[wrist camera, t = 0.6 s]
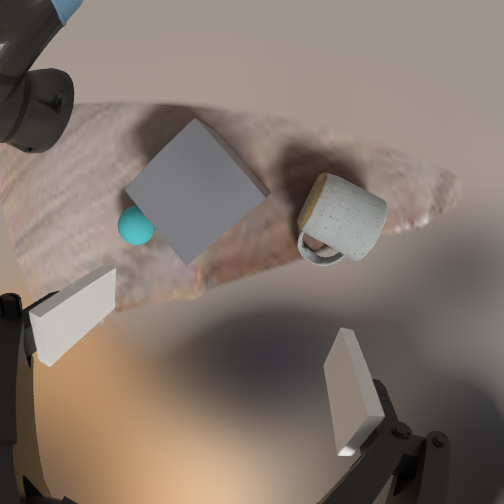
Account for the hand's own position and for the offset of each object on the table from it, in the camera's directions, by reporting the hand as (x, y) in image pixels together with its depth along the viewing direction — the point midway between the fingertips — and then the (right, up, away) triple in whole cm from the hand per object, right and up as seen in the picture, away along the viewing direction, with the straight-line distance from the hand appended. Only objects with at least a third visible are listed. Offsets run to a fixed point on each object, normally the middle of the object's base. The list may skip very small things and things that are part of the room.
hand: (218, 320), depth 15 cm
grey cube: (-3, +12, +19) cm, 23 cm away
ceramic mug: (+12, +7, +19) cm, 24 cm away
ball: (-13, +7, +19) cm, 24 cm away
